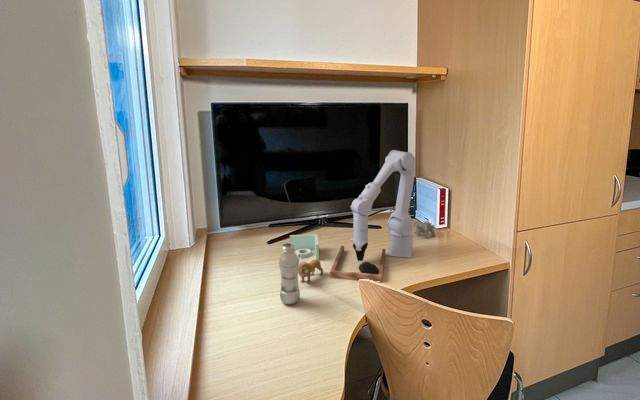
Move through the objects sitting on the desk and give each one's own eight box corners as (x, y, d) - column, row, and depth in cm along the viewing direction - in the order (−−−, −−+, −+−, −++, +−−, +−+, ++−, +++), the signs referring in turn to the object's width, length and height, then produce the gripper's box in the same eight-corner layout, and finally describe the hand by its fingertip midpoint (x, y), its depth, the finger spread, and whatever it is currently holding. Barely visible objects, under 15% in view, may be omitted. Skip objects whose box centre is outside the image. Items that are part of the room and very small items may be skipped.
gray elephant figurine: (436, 235, 173) (437, 220, 171) (429, 242, 163) (430, 226, 161) (417, 232, 178) (418, 217, 176) (410, 239, 168) (410, 223, 166)
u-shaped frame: (385, 254, 152) (385, 249, 151) (381, 282, 128) (381, 276, 128) (341, 251, 156) (341, 245, 155) (330, 277, 132) (329, 271, 132)
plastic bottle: (289, 294, 121) (287, 239, 116) (304, 300, 117) (302, 244, 112) (276, 302, 117) (272, 246, 111) (291, 309, 112) (288, 251, 107)
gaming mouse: (369, 262, 146) (369, 253, 145) (381, 279, 132) (382, 269, 131) (354, 263, 145) (354, 254, 143) (365, 281, 130) (365, 271, 129)
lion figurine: (307, 289, 124) (307, 266, 122) (294, 286, 127) (293, 263, 124) (326, 272, 137) (325, 250, 135) (313, 269, 139) (313, 248, 137)
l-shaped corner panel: (290, 251, 158) (289, 235, 156) (317, 249, 159) (317, 234, 157) (290, 262, 146) (289, 245, 144) (319, 261, 147) (318, 244, 145)
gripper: (353, 222, 148) (352, 252, 151) (347, 234, 134) (347, 267, 138) (370, 223, 146) (369, 253, 150) (366, 235, 133) (366, 268, 136)
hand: (360, 260), depth 144 cm, fingers closed
